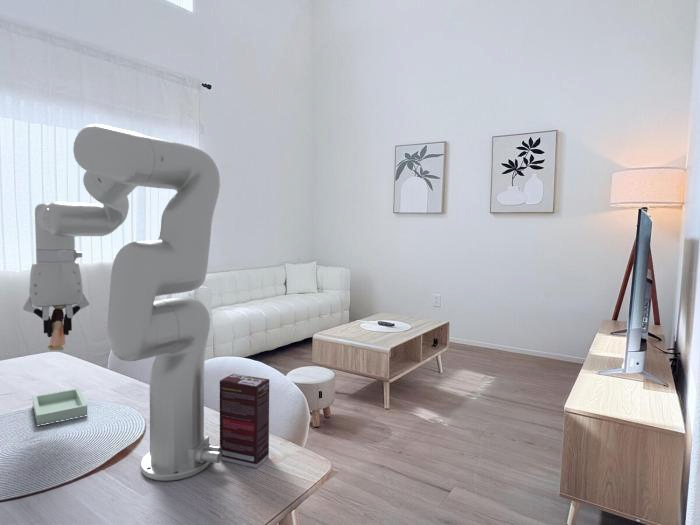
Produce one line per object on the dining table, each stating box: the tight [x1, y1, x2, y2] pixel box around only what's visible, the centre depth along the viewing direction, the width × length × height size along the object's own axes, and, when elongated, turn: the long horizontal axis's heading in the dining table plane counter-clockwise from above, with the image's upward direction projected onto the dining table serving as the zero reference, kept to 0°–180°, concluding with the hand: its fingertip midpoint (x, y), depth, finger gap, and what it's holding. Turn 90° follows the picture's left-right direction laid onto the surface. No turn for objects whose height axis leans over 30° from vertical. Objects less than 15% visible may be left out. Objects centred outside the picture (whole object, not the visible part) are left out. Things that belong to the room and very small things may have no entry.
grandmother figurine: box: [47, 305, 66, 351], centre depth 102 cm, size 8×4×13 cm, turn 51°
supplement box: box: [219, 373, 270, 469], centre depth 85 cm, size 9×5×16 cm, turn 70°
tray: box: [32, 387, 88, 426], centre depth 104 cm, size 14×10×3 cm
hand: (57, 334), depth 103 cm, fingers closed on grandmother figurine, 2 cm apart
